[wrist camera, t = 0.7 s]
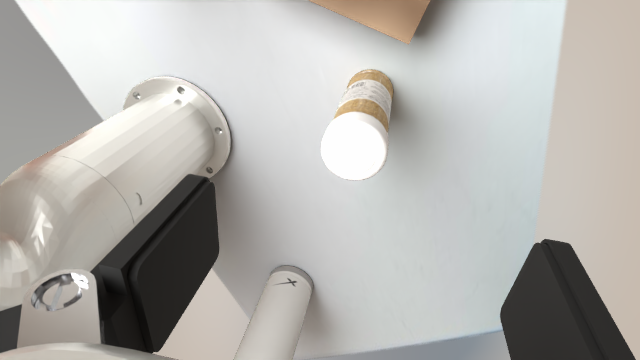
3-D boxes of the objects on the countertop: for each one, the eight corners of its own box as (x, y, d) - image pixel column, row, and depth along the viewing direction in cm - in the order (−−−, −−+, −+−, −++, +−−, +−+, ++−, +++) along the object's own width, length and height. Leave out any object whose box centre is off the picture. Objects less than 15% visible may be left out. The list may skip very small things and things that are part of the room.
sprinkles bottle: (354, 118, 38) (330, 187, 27) (341, 74, 36) (310, 130, 25) (399, 107, 37) (394, 176, 25) (388, 61, 35) (378, 114, 23)
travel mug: (291, 256, 50) (232, 411, 33) (322, 288, 52) (280, 449, 35) (259, 273, 53) (189, 422, 36) (289, 302, 55) (236, 457, 38)
